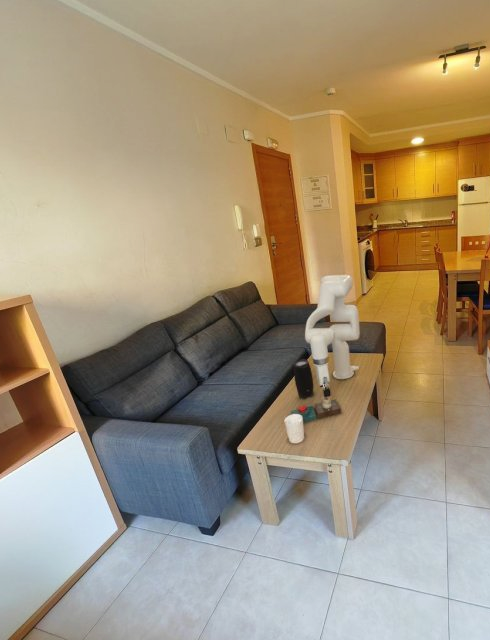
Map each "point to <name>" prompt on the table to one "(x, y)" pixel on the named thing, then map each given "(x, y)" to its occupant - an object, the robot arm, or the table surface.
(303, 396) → the portable speaker
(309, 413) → the button block
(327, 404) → the dial
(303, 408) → the button
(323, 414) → the dial panel
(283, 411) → the table surface
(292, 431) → the white cup
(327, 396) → the robot arm
